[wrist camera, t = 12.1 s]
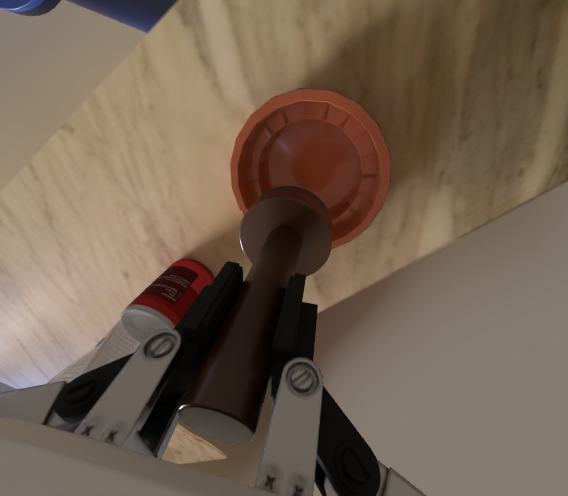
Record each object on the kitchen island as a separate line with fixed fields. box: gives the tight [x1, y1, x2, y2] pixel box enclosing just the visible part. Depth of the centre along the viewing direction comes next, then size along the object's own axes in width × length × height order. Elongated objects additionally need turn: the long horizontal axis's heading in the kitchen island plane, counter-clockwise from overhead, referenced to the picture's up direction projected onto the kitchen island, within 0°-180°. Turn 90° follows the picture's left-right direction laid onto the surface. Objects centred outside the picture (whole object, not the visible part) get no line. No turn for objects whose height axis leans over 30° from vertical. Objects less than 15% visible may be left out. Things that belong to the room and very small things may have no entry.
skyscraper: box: [47, 318, 141, 384], centre depth 32 cm, size 8×8×28 cm
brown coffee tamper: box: [178, 186, 332, 444], centre depth 12 cm, size 6×6×13 cm
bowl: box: [230, 88, 391, 249], centre depth 23 cm, size 15×15×5 cm
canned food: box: [121, 259, 214, 343], centre depth 33 cm, size 8×8×11 cm
